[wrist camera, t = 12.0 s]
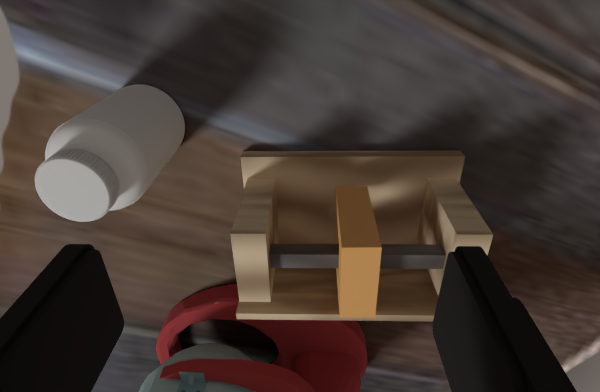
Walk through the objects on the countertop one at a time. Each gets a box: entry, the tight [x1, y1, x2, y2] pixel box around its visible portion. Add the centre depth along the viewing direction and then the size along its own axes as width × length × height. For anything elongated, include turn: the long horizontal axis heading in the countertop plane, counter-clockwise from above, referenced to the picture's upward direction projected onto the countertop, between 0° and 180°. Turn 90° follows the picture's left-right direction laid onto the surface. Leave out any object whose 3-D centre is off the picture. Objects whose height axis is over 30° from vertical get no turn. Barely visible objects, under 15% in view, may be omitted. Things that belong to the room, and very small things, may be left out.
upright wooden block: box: [335, 186, 382, 318], centre depth 38 cm, size 8×3×10 cm, turn 2°
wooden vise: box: [230, 150, 493, 321], centre depth 40 cm, size 13×23×12 cm, turn 91°
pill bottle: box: [35, 84, 185, 222], centre depth 34 cm, size 8×8×15 cm
